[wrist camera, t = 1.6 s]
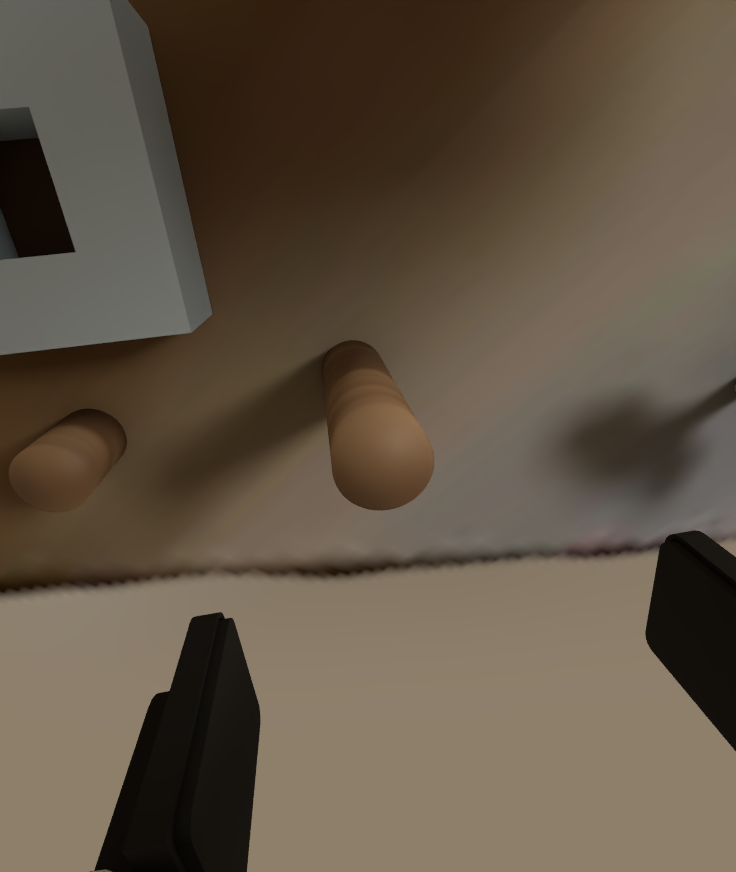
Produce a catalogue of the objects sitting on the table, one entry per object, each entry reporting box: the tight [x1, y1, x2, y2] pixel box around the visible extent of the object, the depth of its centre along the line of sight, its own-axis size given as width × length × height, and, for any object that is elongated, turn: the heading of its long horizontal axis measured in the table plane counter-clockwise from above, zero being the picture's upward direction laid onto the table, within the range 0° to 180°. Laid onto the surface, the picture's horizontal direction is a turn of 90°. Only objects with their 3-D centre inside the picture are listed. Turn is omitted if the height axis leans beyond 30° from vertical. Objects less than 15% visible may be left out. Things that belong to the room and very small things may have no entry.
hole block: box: [0, 0, 212, 355], centre depth 20 cm, size 12×12×5 cm
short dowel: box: [9, 409, 127, 512], centre depth 24 cm, size 4×4×5 cm
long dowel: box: [322, 340, 434, 510], centre depth 22 cm, size 4×4×12 cm
